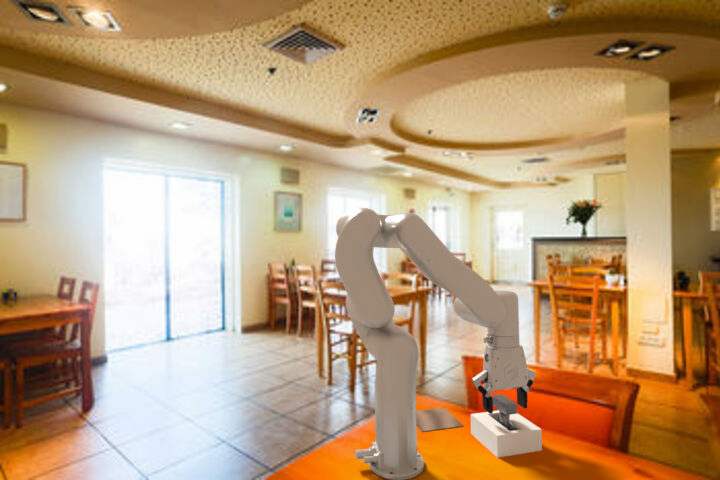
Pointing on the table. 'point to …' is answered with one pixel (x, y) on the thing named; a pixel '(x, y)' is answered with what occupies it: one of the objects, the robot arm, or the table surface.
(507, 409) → the t key
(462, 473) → the table surface
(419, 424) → the grey flat square plate
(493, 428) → the block
